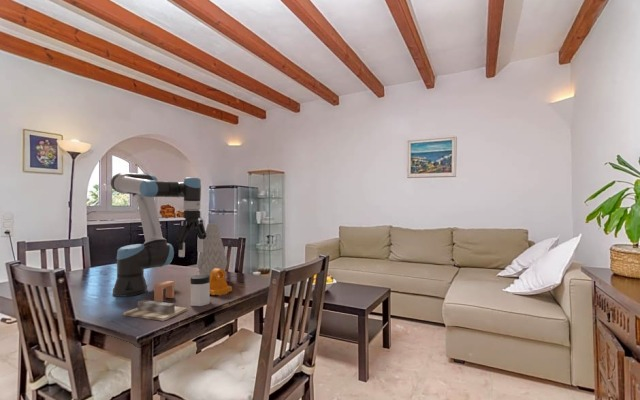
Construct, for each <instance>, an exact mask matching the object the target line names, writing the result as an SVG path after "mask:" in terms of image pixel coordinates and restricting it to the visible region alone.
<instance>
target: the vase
mask: <svg viewBox="0 0 640 400" xmlns="http://www.w3.org/2000/svg"><path fill="white" fill-rule="evenodd" d="M205 232H206V238H205V239H203V252H199V254H198V257H197V262H196V267H197V268H198V272H199V275H209V276H210V274H211V271H212V270H213V269H214V268H219V269H222V270H224V271H225V272H226V267H227V266H228V259H227V256H226V252H225V247H224V243H223V240H222V237H221V233H220V228H219V224H218V223H207V225H206V228H205ZM218 274H219V273H218Z"/></svg>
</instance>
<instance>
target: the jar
mask: <svg viewBox="0 0 640 400" xmlns="http://www.w3.org/2000/svg"><path fill="white" fill-rule="evenodd" d="M189 280H190V281H189V282H190V306H192V307H203V306H207V305H210V304H211V303H210V301H211V299H210V297H211V296H210V295H211V294H210V276H209V275H200V274H196V275H192V276H190V279H189Z"/></svg>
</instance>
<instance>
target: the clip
mask: <svg viewBox="0 0 640 400" xmlns="http://www.w3.org/2000/svg"><path fill="white" fill-rule="evenodd" d="M153 286H154V287H153V288H154V289H153V291H154V292H153V294H154V295H153V297H154V298H153V301H156V302H164V289H165V298H170V299H173V298H175V281H172V280H166V281H162V282H159V283H156V284H153Z"/></svg>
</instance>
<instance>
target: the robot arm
mask: <svg viewBox="0 0 640 400" xmlns="http://www.w3.org/2000/svg"><path fill="white" fill-rule="evenodd" d="M201 181H202V180H201V179H200V177H184V179H183V181H167V180H165V181H164V180H158V178H157V176H155V175H154V174H153V173H152V174H151V173H142V172H141V173H138V172H119V173H116V174H115V175H114V176H112V177H111V180H110V186H111V189H113V191H114V192H116V193H119V194H124V195H125V194H126V195H127V194H128V195H132V199H133V200H135V201H136V202H137V208H138V212H139V217H140V221H141V226H142V231H143V236H144V240H145V241H144V243H136V244H129V245H124V246H121V247H119V248H118V249H117V253H116V280H115V283H114V286H113V288H112V296H116V297H131V296H136V295H138V296H139V295H140V294H144V293H146V292H148V284H147V281H146V278H145V276H144V275H145V273H144V270H148V269H153V268H162V267H165V266H168V265H170V264H171V262H172V261H173V258H174V254H175V251H174V250H175V249H174V246H173V245H172V244H171V243H168V240H167V239H166V238H165V237H163V232H162V228H161V224H160V218H159V214H158V210H157V209H158V208H157V205H156V200H155V198H183V219H185V220H180V221H179V227H178V230H177V233H176V235H175V239H174V242H176V243H177V246H178V248H177V249H178V257H179V258H184V257H185V255H186V254H185V253H186V243H185V240H186V239H187V236H188V234H189V233H190V232H191V231H193V230H194V233H195V234H196V235H197V244H196V245H197V247H196V248H197V249H196V251H197V253H200V252H203V240H204V239H205V238H206V232H205V231H206V228H205V226H204V220H203V219H201V210H200V209H201V197H202V194H201V193H202V184H201V183H202V182H201Z"/></svg>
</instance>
